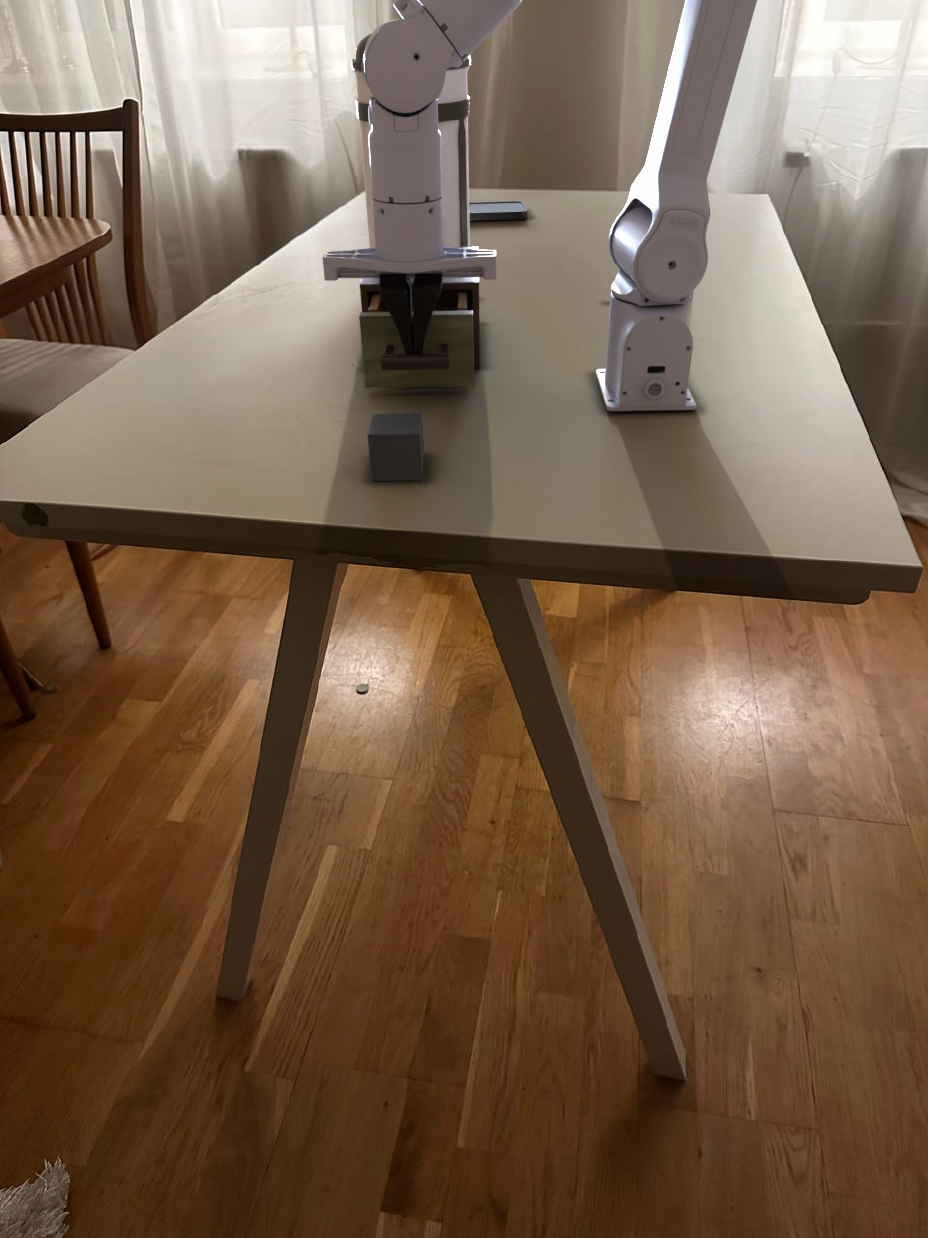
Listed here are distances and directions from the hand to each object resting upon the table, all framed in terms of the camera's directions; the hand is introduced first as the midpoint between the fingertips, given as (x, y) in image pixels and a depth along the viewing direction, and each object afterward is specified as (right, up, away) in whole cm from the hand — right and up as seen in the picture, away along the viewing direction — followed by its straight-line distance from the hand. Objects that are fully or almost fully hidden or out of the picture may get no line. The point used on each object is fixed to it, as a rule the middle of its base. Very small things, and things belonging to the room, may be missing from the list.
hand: (414, 360), depth 81 cm
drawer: (0, +1, +7) cm, 7 cm away
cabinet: (0, +6, +15) cm, 16 cm away
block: (-1, -11, -9) cm, 14 cm away
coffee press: (-1, +17, +31) cm, 36 cm away
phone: (+7, +42, +64) cm, 77 cm away
